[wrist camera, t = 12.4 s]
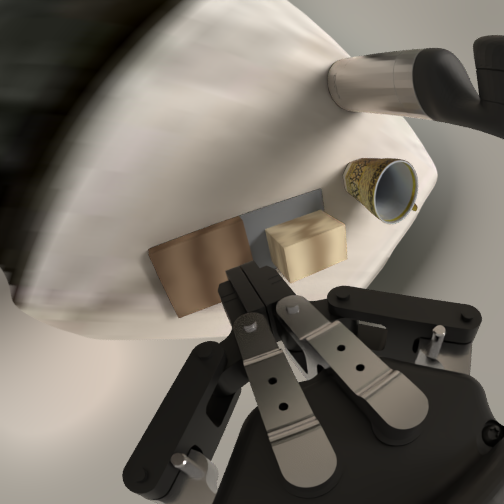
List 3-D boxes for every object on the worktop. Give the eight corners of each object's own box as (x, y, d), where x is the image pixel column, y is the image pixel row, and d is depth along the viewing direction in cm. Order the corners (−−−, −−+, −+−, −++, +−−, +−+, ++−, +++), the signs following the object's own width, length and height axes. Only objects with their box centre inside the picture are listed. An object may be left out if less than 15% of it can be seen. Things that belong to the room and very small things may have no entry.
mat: (320, 188, 45) (321, 189, 45) (327, 246, 50) (328, 247, 50) (238, 215, 42) (239, 216, 42) (254, 275, 48) (255, 276, 48)
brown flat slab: (238, 215, 42) (242, 220, 41) (256, 280, 48) (260, 286, 47) (148, 249, 40) (148, 254, 38) (177, 310, 46) (178, 318, 44)
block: (320, 209, 46) (345, 224, 40) (324, 241, 49) (347, 258, 43) (264, 229, 45) (283, 248, 39) (272, 261, 48) (290, 283, 42)
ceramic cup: (324, 191, 46) (363, 210, 37) (350, 138, 43) (392, 147, 34) (372, 218, 51) (409, 238, 43) (394, 172, 49) (433, 186, 40)
